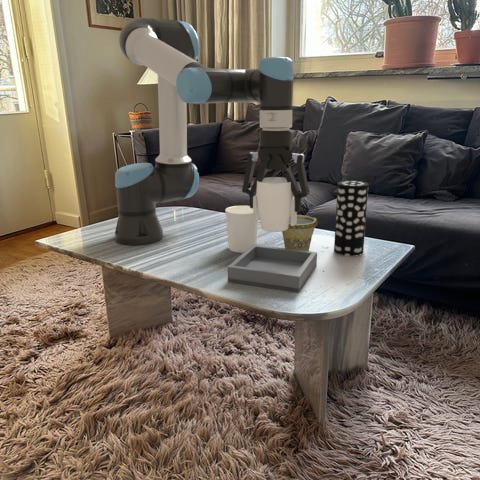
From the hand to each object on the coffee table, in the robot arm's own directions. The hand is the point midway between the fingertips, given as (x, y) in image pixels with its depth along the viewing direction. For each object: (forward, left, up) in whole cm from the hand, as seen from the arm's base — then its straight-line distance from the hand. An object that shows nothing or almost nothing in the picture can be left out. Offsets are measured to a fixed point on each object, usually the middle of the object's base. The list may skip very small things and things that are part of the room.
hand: (274, 222), depth 112 cm
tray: (0, 0, -14) cm, 14 cm away
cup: (0, 0, -2) cm, 2 cm away
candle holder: (-15, +16, -14) cm, 26 cm away
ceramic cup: (+2, +19, -14) cm, 24 cm away
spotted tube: (+15, +24, -14) cm, 32 cm away
